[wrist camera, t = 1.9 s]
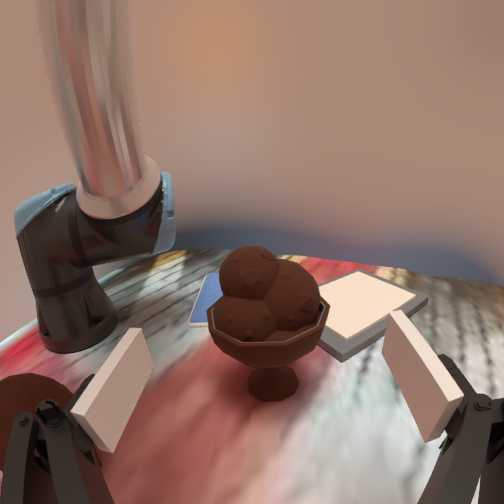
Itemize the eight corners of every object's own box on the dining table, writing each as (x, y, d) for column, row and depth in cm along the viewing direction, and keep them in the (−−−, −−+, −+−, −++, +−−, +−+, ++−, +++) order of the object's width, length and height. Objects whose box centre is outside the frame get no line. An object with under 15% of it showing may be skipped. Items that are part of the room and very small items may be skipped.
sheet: (286, 301, 41) (286, 299, 41) (358, 273, 48) (358, 271, 48) (346, 341, 30) (346, 338, 30) (415, 297, 37) (416, 294, 37)
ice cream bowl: (232, 433, 21) (197, 288, 16) (218, 361, 31) (195, 240, 27) (340, 404, 22) (356, 259, 18) (302, 343, 33) (299, 226, 28)
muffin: (76, 533, 8) (-10, 475, 5) (9, 471, 10) (-53, 403, 7) (133, 447, 19) (85, 372, 15) (62, 411, 21) (20, 341, 18)
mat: (270, 308, 42) (270, 302, 42) (358, 274, 50) (359, 268, 50) (341, 362, 28) (342, 354, 28) (427, 303, 37) (428, 296, 36)
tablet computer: (271, 326, 39) (271, 318, 38) (186, 330, 39) (184, 323, 39) (266, 274, 57) (265, 268, 56) (206, 278, 57) (205, 273, 57)
